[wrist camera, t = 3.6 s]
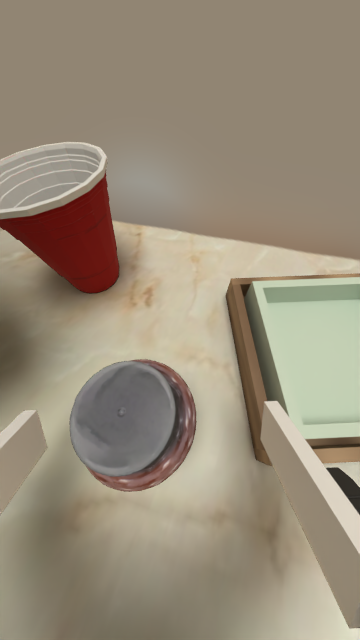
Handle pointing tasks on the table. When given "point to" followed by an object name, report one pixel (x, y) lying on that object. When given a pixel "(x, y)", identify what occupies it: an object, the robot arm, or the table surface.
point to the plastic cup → (62, 211)
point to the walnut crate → (253, 383)
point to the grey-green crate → (310, 351)
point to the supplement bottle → (133, 424)
